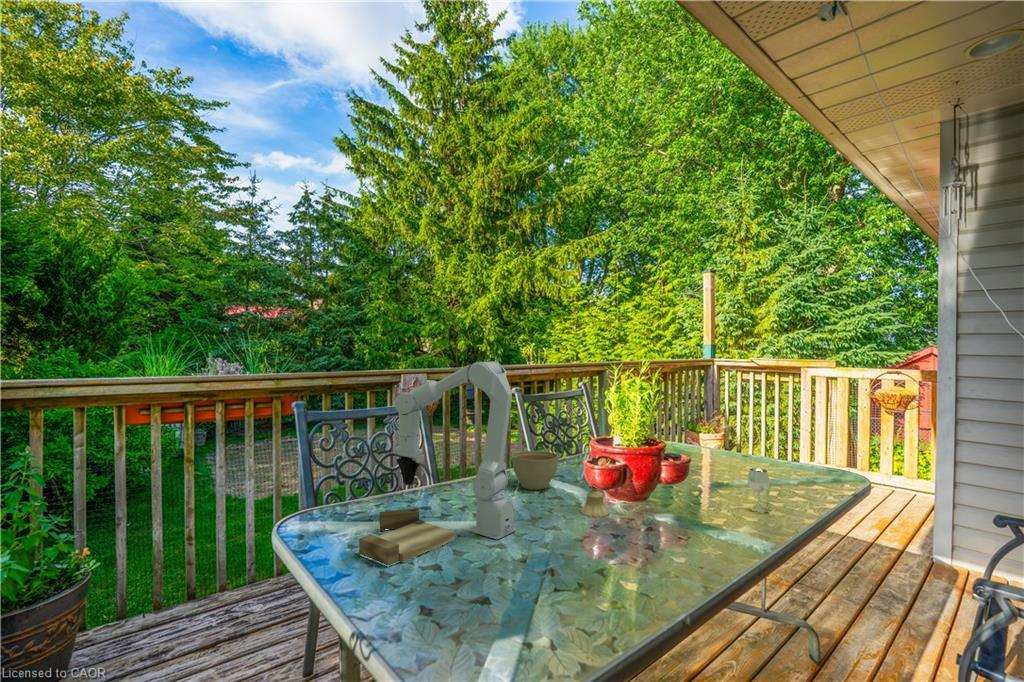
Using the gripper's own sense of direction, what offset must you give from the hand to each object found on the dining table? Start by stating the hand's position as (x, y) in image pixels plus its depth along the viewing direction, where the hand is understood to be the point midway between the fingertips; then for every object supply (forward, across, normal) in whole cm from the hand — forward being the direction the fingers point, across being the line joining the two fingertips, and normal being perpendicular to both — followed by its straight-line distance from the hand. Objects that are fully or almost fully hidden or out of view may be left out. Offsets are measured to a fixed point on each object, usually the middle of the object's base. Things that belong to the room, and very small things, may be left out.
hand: (408, 484), depth 138 cm
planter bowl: (+10, +3, -49) cm, 50 cm away
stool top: (+9, -18, +9) cm, 22 cm away
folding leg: (+9, -5, +5) cm, 12 cm away
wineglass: (+10, -57, -85) cm, 103 cm away
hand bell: (+10, -28, -46) cm, 54 cm away
